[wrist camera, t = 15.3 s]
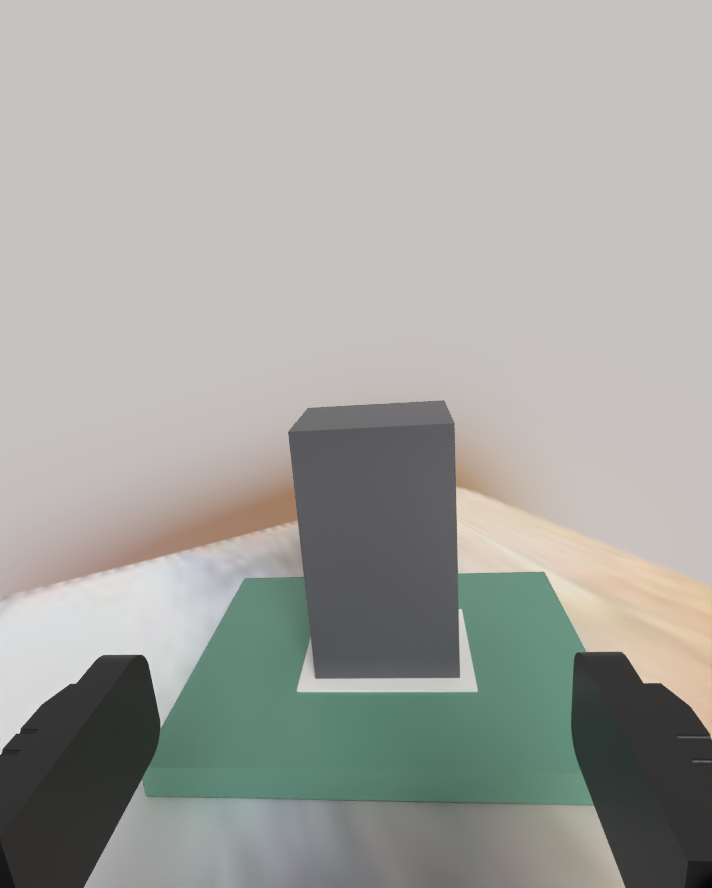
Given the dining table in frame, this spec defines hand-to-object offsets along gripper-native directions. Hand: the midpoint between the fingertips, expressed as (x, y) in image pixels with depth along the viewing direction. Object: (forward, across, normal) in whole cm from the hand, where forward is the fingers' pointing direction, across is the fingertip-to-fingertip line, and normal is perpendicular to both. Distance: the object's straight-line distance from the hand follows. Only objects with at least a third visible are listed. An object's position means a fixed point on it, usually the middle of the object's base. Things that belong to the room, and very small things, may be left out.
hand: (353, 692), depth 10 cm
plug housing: (+11, 0, +7) cm, 13 cm away
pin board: (+11, 0, +8) cm, 14 cm away
